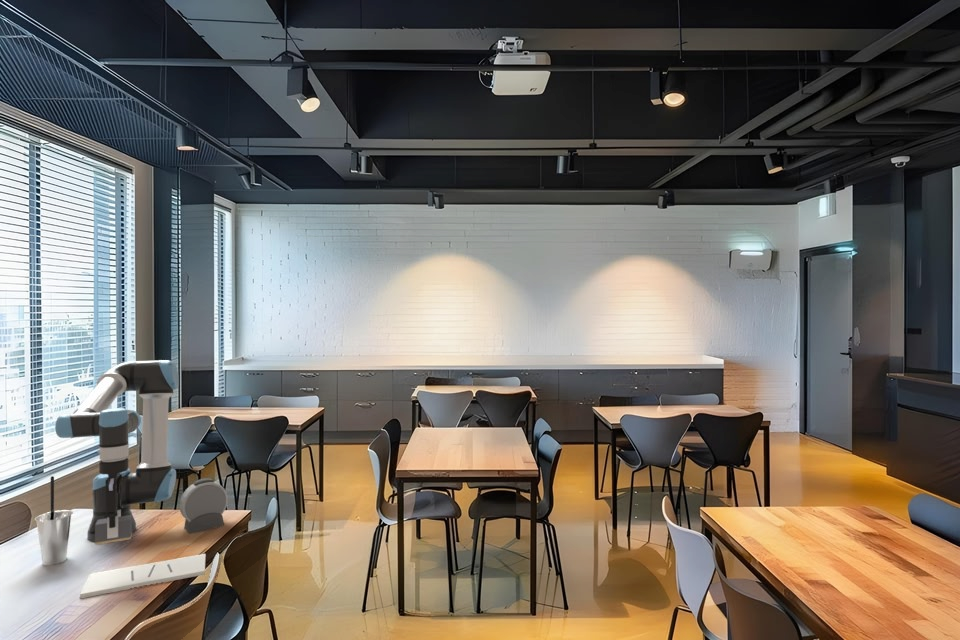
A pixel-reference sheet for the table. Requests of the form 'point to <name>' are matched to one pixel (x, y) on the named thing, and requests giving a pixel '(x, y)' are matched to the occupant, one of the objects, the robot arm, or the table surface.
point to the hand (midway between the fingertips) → (114, 534)
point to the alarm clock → (203, 505)
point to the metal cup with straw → (53, 533)
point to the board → (143, 575)
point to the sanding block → (123, 530)
